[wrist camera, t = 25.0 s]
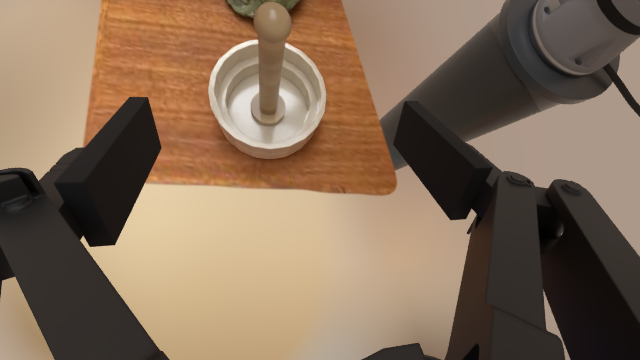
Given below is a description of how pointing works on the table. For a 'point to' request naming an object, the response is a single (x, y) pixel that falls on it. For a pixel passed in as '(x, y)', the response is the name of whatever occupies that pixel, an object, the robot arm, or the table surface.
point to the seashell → (257, 5)
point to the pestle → (270, 62)
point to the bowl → (243, 84)
